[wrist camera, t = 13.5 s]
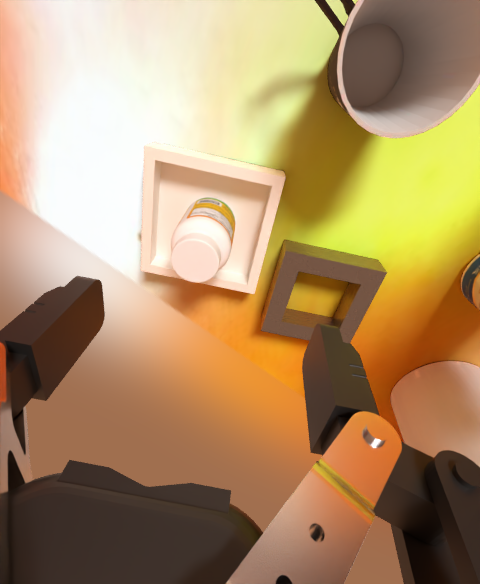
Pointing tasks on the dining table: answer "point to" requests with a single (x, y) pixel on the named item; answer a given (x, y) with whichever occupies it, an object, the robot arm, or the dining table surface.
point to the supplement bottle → (203, 240)
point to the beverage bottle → (472, 282)
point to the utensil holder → (440, 408)
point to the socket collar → (326, 263)
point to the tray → (208, 183)
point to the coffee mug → (404, 62)
